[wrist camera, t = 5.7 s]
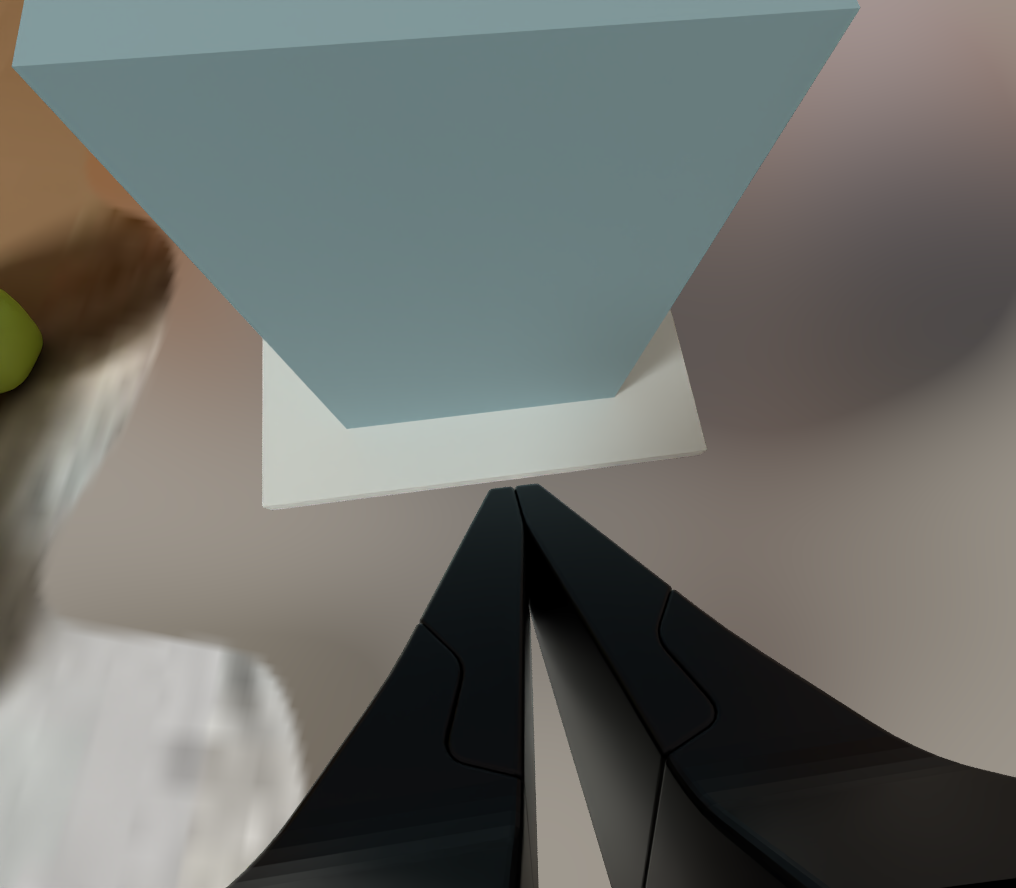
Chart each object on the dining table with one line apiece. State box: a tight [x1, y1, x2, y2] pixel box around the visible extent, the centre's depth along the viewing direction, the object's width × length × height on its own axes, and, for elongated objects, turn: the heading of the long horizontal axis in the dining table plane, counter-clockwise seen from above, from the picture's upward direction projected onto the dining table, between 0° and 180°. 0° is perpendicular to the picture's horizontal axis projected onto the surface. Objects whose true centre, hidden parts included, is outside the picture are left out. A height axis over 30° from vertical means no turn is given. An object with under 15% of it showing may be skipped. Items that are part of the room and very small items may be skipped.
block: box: [12, 0, 860, 429], centre depth 13 cm, size 9×10×13 cm
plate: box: [262, 308, 707, 510], centre depth 20 cm, size 16×16×1 cm
